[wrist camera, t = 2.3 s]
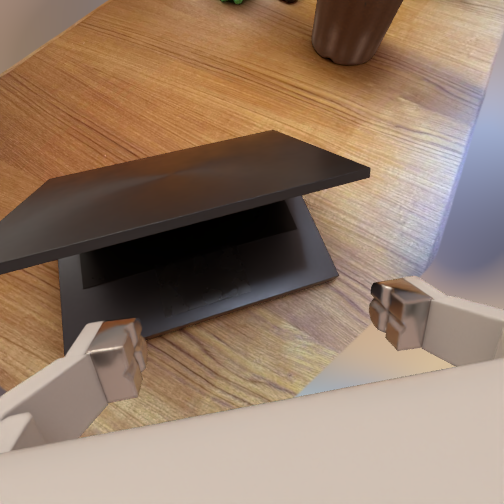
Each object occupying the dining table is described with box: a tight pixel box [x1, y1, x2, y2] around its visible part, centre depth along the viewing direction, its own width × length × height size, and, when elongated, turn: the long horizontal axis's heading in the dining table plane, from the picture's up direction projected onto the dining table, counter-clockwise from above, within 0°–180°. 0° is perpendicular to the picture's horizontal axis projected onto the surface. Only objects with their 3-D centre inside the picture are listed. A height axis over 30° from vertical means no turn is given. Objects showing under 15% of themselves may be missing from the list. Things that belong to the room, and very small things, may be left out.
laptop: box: [58, 195, 339, 356], centre depth 34 cm, size 22×30×2 cm
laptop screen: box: [0, 130, 370, 275], centre depth 28 cm, size 22×30×1 cm
